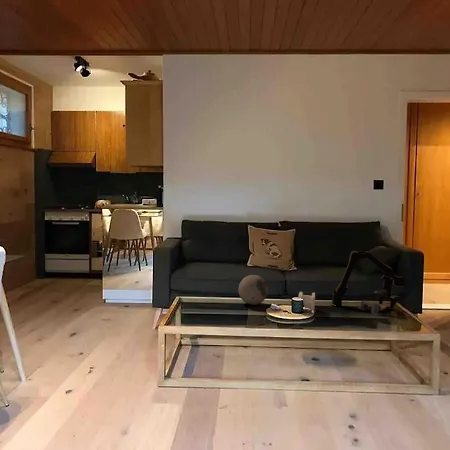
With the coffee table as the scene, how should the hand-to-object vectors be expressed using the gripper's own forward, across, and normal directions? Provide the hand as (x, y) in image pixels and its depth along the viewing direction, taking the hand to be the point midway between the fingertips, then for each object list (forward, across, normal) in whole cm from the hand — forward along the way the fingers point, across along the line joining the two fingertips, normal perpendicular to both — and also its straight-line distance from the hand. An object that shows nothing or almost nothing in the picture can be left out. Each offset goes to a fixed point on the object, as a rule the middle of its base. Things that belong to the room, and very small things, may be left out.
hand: (385, 308), depth 362 cm
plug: (+1, 0, -5) cm, 5 cm away
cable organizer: (+1, -16, -56) cm, 59 cm away
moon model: (+1, -43, -81) cm, 91 cm away
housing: (+1, 0, -16) cm, 16 cm away
